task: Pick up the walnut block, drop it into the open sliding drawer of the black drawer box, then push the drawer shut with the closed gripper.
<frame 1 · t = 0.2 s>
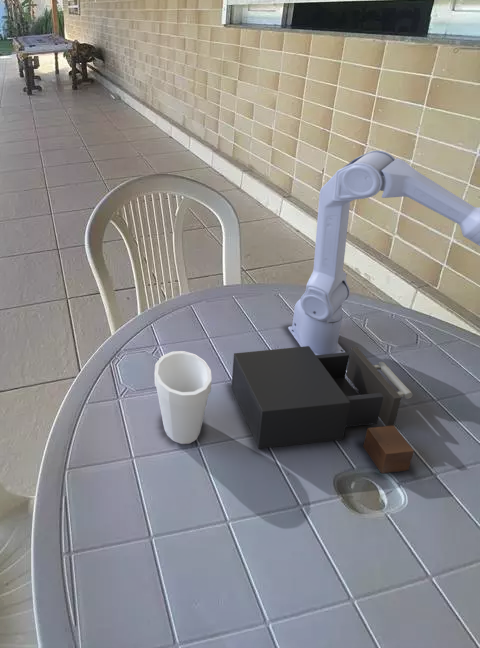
block: (384, 458, 68), on the table
black drawer box: (283, 411, 77), on the table
sliding drawer: (349, 387, 76), point 4 cm above the table, slide at 8.0 cm
foam cup: (181, 428, 76), on the table
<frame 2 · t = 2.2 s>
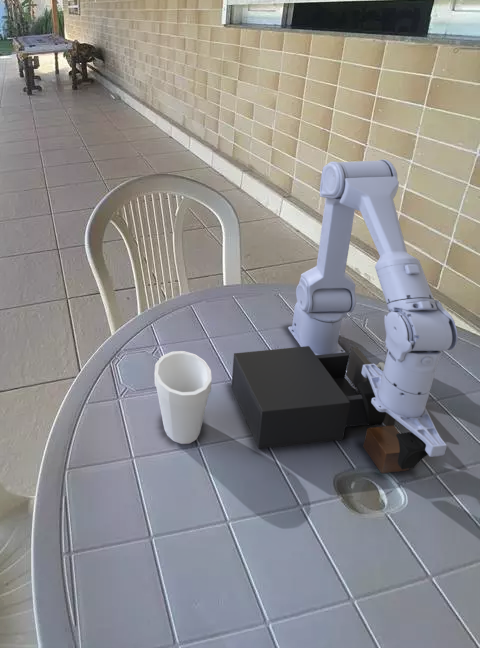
hand: (389, 443, 67), 3 cm above the table, tool pointing down, fingers open, 6 cm apart
sliding drawer: (349, 387, 76), point 4 cm above the table, slide at 8.0 cm, touching gripper
everything else where it was.
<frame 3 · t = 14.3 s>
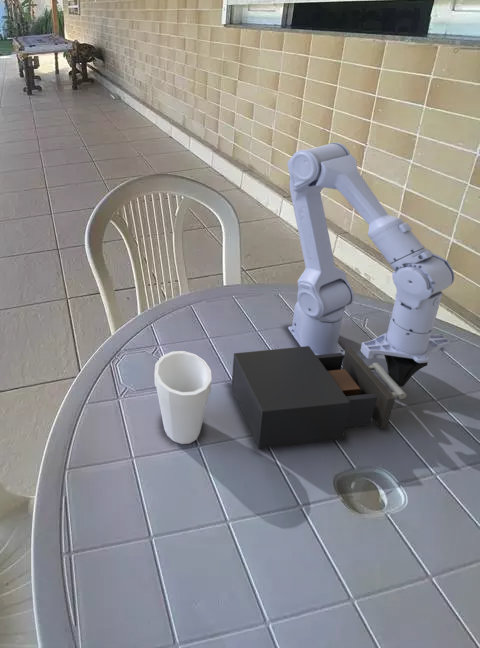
hand: (395, 382, 76), 4 cm above the table, tool pointing down, fingers closed
block: (337, 398, 77), point 2 cm above the table, touching sliding drawer
sliding drawer: (343, 388, 76), point 4 cm above the table, slide at 6.9 cm, touching block, gripper
everything else where it was.
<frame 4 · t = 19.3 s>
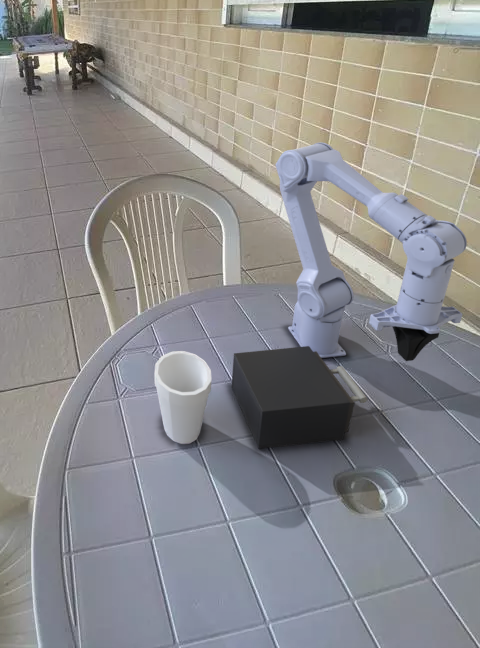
hand: (405, 356, 74), 10 cm above the table, tool pointing down, fingers closed
block: (300, 401, 76), point 2 cm above the table, touching sliding drawer
sliding drawer: (306, 392, 76), point 4 cm above the table, slide at 0.0 cm, touching block, black drawer box
everything else where it was.
at the end: sliding drawer slide at 0.0 cm; block inside the target area in the black drawer box (3.0 cm from its centre), point 2.0 cm above the black drawer box's base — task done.
